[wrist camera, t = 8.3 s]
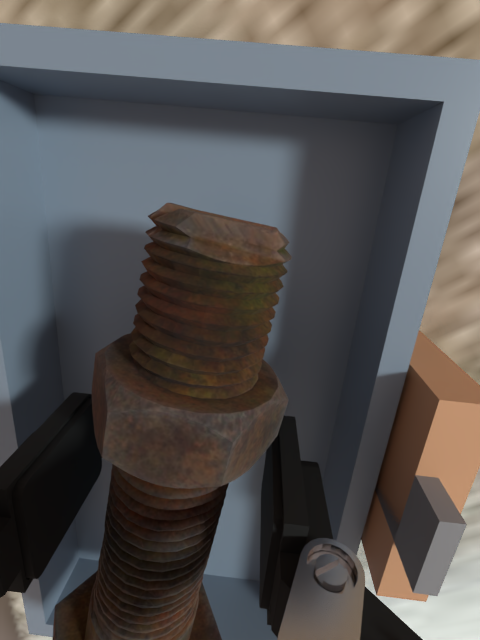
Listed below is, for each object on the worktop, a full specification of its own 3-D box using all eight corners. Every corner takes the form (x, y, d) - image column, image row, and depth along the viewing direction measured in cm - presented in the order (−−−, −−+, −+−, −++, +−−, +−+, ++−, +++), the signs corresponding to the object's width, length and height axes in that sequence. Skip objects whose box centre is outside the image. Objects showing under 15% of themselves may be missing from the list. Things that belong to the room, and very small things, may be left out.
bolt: (261, 218, 11) (179, 557, 16) (89, 179, 9) (52, 592, 14) (411, 265, 7) (232, 728, 11) (128, 211, 4) (50, 829, 9)
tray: (313, 586, 18) (323, 673, 15) (70, 555, 19) (29, 633, 15) (424, 100, 11) (493, 60, 8) (17, 67, 11) (-85, 16, 8)
